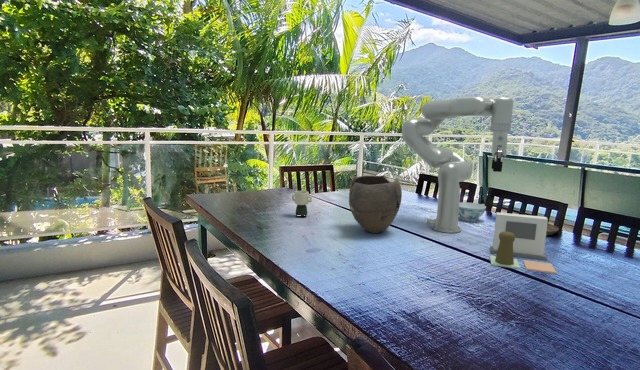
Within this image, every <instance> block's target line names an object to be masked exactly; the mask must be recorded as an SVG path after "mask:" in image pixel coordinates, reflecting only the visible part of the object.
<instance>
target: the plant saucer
mask: <svg viewBox="0 0 640 370" xmlns="http://www.w3.org/2000/svg"><path fill="white" fill-rule="evenodd" d="M558 230H559V227H558V226H556V225H554V224H551V223H549V222H548V223H547V231H546V237H547V236H548V237H549V236H552V235H554V234H555V233H557V232H558Z"/></svg>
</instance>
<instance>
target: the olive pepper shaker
mask: <svg viewBox="0 0 640 370" xmlns="http://www.w3.org/2000/svg"><path fill="white" fill-rule="evenodd" d="M499 239H500V243H499V247H498V251H497V254H496V255H495V256H496V259H495V261H496V262H497V263H499V264H503V265H513V264H514V259H515V258H514V257H515V256H513V242H514V241H515V235H514V234H513V233H511V232H506V231H504V232H501V233H500V234H499Z"/></svg>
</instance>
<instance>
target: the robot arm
mask: <svg viewBox="0 0 640 370" xmlns="http://www.w3.org/2000/svg"><path fill="white" fill-rule="evenodd" d="M513 111H514V99H513V98H511V97H496V98H490V97H483V96H474V97H473V96H471V97H469V96H468V97H461V98H460V97H459V98H451V99H439V100H438V99H437V100H430V101H426V102H425V103H424V104H423V105H422V106H421V115H422V116H423V117H424V118H415V117H413V118H409V119H407V120H405V121H404V123H403V124H402V126H401V136H402V139H403V141H404V143H405V144H406V145H407V147H409V148H410V149H411V150H412V151H414V153H416V154H417V156H418V157H420V158H421V159H422V160H423V161H424V162H425V163H426V164H427V165H428V166H429V167H430V168H435V169H437V168H439V169H438V171H437V179H438V192H437V193H438V194H437V195H438V196H437V208H436V209H437V210H436V217H435V218H434V219H431V218H426V223H427V224H431V225H432V229H433V230H434V231H436V232H440V233H448V234H454V233H455V234H457V233H460V232H461V231H462V228H461V227H460V226H458V225H459V217H460V215H459V204H460V202H461V187H460V183H461V182H466V181H467V180H468V179H469V178H471V176H472V168H471V165H470V164H469V163H468V162H467V161H466V160H465V159H464V158H463V157H461V155H459V154H458V153H456V152H455V151H454V150H452V149H451V148H449V147H439V146H436V145H435V144H434V143H432V142H431V140H429V139H428V138H426V137H425V136H429V135H431V134H432V133H433V132H434V131H435V130H436V129H437V128H438V127H439V126H440V125H441V124H442V123H443V122H444V121H445V120H447V119H456V118H457V117H466V116H467V117H468V116H469V117H472V116H475V117H479V116H481V117H491V118H490V119H491V120H490V130H489V132H491V133H492V144H491V155H492V160H491V169H492V171H493V172H498V173H501V172H503V157H504V158H506V157H507V149H508V133H511V129H512V120H513Z"/></svg>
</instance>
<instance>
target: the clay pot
mask: <svg viewBox="0 0 640 370" xmlns="http://www.w3.org/2000/svg"><path fill="white" fill-rule="evenodd" d="M402 193H403V192H402V186H401V182H400V180H399V179H398V177H396V178H395V179H394V180H393V181H390V180H389V179H388V178H387V177H386V176H385V175H360V176H355V177H354V178H353V179H352V181H351V183H350V186H349V192H348V205H349V209H350V210H349V211H350V212H351V214H352V216H353V218H354V220H355V221H356V223H358V225H359V226H360V227H361V228H362V229H364V230H365V231H366V232H368V233H373V234H378V233H382V232H384V231H386V230H387V229H388V228H389V227H390V226H391V225H392V223H393V222H394V220H395V218H396V216H397V215H398V212H399V209H400V207H401V202H402V195H403V194H402Z"/></svg>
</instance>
